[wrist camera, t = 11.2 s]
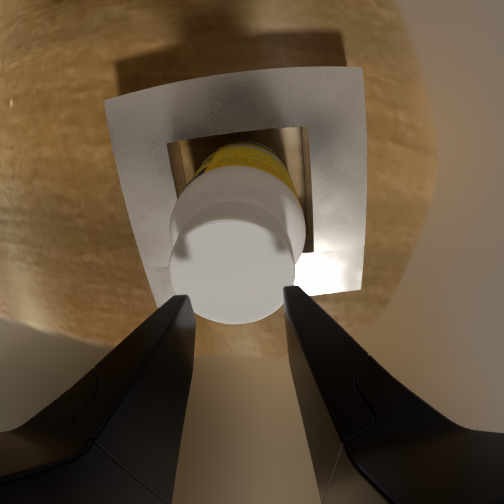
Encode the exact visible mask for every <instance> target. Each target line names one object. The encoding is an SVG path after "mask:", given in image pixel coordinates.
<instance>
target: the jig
mask: <svg viewBox="0 0 504 504" xmlns="http://www.w3.org/2000/svg"><path fill="white" fill-rule="evenodd" d="M104 105H105V111H106V117H107V122H108V128H109V133H110V138H111V143H112V148H113V153H114V157H115V162H116V166H117V171H118V175H119V179H120V183H121V187H122V191H123V195H124V199H125V203H126V207H127V211H128V215H129V218H130V222H131V225H132V229H133V233H134V236H135V239H136V243H137V246H138V249H139V253H140V256H141V259H142V262H143V266H144V269H145V272H146V275H147V278H148V281H149V284H150V287H151V290H152V293H153V296H154V299H155V301H156V304H157V307H161V306H162V305H163V304H164V303H165V302H167V301H168V300H169V299H170V298H171V297H172V296H174V295H177V294H176V292H175V291H174V288H173V286H172V284H171V280H170V276H169V260H170V256H171V252H172V246H171V242H170V233H169V228H170V219H171V215H172V211H173V209H174V206H175V204H176V202H177V200H178V198H179V196H180V195H181V193H182V191H183V190H184V188H185V187H186V180H185V175H184V169H183V164H182V158H181V152H180V147H179V141H181V140H187V139H193V138H199V137H206V136H213V135H220V134H227V133H235V132H244V131H253V130H263V129H273V128H286V127H300V126H301V132H302V145H303V159H304V174H305V192H306V212H307V233H306V237H305V244H304V248H303V251H302V254H301V256H300V258H299V260H298V262H297V264H296V265H295V271H296V274H295V281H294V285H298V286H300V287H301V288H302V289H303V290H304V291H305V292H306V293H307V294H308V295H318V294H327V293H335V292H344V291H352V290H360V289H361V281H362V270H363V258H364V244H365V226H366V200H367V137H366V112H365V95H364V81H363V70H362V67H342V66H317V67H289V68H273V69H261V70H251V71H242V72H234V73H226V74H219V75H212V76H206V77H200V78H195V79H189V80H184V81H179V82H174V83H169V84H165V85H160V86H156V87H152V88H148V89H144V90H140V91H136V92H132V93H128V94H125V95H121V96H118V97H114V98H111V99H108V100H104Z"/></svg>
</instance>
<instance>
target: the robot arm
mask: <svg viewBox="0 0 504 504" xmlns="http://www.w3.org/2000/svg"><path fill="white" fill-rule="evenodd" d="M283 300H284V314H285V324H286V334H287V344H288V355H289V363H290V368H291V373H292V377H293V382H294V386H295V390H296V395H297V399H298V403H299V407H300V412H301V416H302V420H303V425H304V429H305V433H306V437H307V442H308V446H309V450H310V454H311V459H312V463H313V467H314V472H315V477H316V481H317V485H318V490H319V495H320V499H321V503H322V504H504V433H495V432H486V431H478V430H471V429H468V428H465V427H462V426H460V425H458V424H456V423H454V422H452V421H451V420H449V419H448V418H446V417H445V416H443V415H442V414H441V413H439V412H438V411H437V410H435V409H434V408H433V407H431V406H430V405H429V404H427V403H426V402H425V401H424V400H422V399H421V398H419V397H418V396H417V395H415V394H414V393H413V392H412V391H410V390H409V389H408V388H406V387H405V386H404V385H403V384H402V383H400V382H399V381H398V380H397V379H395V378H394V377H393V376H392V375H391V374H389V372H387V371H386V370H385V369H384V368H383V367H382V366H381V365H380V364H379V363H378V362H377V361H376V360H375V359H374V358H373V357H371V356H370V355H368V353H367V352H366V351H365V350H364V349H363V348H362V347H361V346H360V345H359V344H358V343H357V342H356V341H355V340H354V339H353V338H352V337H351V336H350V335H349V334H348V333H347V332H346V331H345V330H344V329H343V328H342V327H341V326H340V325H339V324H338V323H337V322H336V321H335V320H334V319H333V318H332V317H331V316H330V315H328V314H327V313H326V312H325V311H324V310H323V309H322V308H321V307H320V306H319V305H318V304H317V303H316V302H315V301H314V300H313V299H312V298H311V297H310V296H309V295H308V294H307V293H306V292H305V291H304V290H303V289H302V288H301V287H300V286H298V285H292V286H284V287H283ZM195 330H196V320H195V315H194V312H193V308H192V305H191V301H190V298H189V296H188V295H186V294H184V295H174V296H172V297H171V298H170V299H169V300H168V301H167V302H165V303H164V304H163V305H162V306H161V307H160V308H159V309H158V310H156V311H155V312H154V313H153V314H152V315H151V316H150V317H149V318H147V319H146V320H145V321H144V322H143V323H142V324H141V325H140V326H138V327H137V328H136V329H135V330H134V331H133V332H132V333H131V334H130V335H128V336H127V337H126V338H125V339H124V340H123V341H122V342H121V343H120V344H118V345H117V346H116V347H115V348H114V349H113V350H112V351H111V352H110V353H109V354H108V355H106V356H105V357H104V358H103V359H102V360H101V361H100V362H99V363H98V364H96V366H95V367H94V368H95V369H94V368H92V369H91V370H90V371H89V372H88V373H87V374H85V375H84V376H83V377H82V378H81V379H80V380H79V381H78V382H76V383H75V384H74V385H73V386H72V387H71V388H70V389H68V390H67V391H66V392H64V393H63V394H62V395H61V396H60V397H58V398H57V399H56V400H54V401H53V402H52V403H51V404H49V405H48V406H47V407H45V408H44V409H43V410H41V411H40V412H39V413H38V414H36V415H35V416H34V417H32V418H31V419H30V420H29V421H27V422H26V423H24V424H23V425H22V426H20V427H18V428H15V429H13V430H10V431H5V432H0V504H172V497H173V490H174V483H175V477H176V469H177V463H178V457H179V449H180V444H181V438H182V431H183V426H184V419H185V414H186V408H187V402H188V396H189V391H190V384H191V379H192V373H193V363H194V345H195Z"/></svg>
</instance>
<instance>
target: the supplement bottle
mask: <svg viewBox="0 0 504 504" xmlns="http://www.w3.org/2000/svg"><path fill="white" fill-rule="evenodd" d="M169 233H170V242H171V246H172V252H171V256H170V260H169V276H170V280H171V284H172V286H173V288H174V291H175V292H176V294H177V295H184V294H186V295H188V296H189V298H190V301H191V305H192V308H193V312H195V313H196V314H198V315H200V316H202V317H204V318H206V319H209V320H212V321H215V322H219V323H226V324H243V323H250V322H254V321H257V320H260V319H262V318H265V317H267V316H268V315H270V314H272V313H273V312H275V311H276V310H277V309H278V308H280V307H281V306H282V304H283V303H284V300H283V287H284V286H292V285H294V281H295V274H296V271H295V265H296V264H297V262H298V260H299V258H300V256H301V254H302V251H303V248H304V244H305V237H306V227H305V220H304V215H303V211H302V208H301V205H300V202H299V199H298V197H297V194H296V191H295V189H294V186H293V183H292V181H291V178H290V175H289V173H288V170H287V168H286V166H285V164H284V163H283V161H282V160H281V159H280V157H279V156H278V155H277V154H276V153H275V152H273V151H272V150H271V149H269V148H268V147H266V146H264V145H261V144H259V143H255V142H250V141H236V142H231V143H227V144H225V145H223V146H221V147H219V148H217V149H216V150H214V151H213V152H212V153H211V154H210V155H209V156H208V157H207V158H206V159H205V160H204V162H203V163H202V164H201V166H200V167H199V169H198V170H197V172H196V173H195V174H194V176H193V177H192V179H191V180H190V181H189V183H188V185H187V186H186V187H185V188H184V190H183V191H182V193H181V195H180V196H179V198H178V200H177V202H176V204H175V206H174V209H173V211H172V215H171V219H170V228H169Z"/></svg>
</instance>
